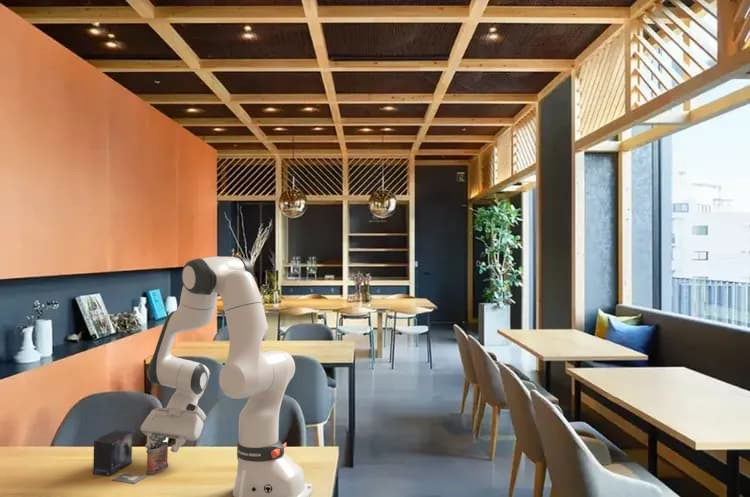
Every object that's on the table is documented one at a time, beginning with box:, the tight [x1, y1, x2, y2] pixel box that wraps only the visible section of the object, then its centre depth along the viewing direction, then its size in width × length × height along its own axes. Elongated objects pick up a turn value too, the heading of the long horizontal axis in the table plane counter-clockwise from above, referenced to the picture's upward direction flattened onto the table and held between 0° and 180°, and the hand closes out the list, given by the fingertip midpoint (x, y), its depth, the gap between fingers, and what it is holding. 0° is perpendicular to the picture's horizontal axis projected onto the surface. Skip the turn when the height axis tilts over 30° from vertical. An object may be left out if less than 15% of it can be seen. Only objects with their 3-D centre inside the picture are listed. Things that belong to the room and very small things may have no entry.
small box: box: [92, 429, 133, 477], centre depth 168 cm, size 11×6×10 cm, turn 168°
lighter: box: [146, 435, 169, 477], centre depth 167 cm, size 8×3×10 cm, turn 161°
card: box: [111, 472, 148, 484], centre depth 161 cm, size 8×5×1 cm, turn 74°
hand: (160, 449), depth 169 cm, fingers open, 8 cm apart
